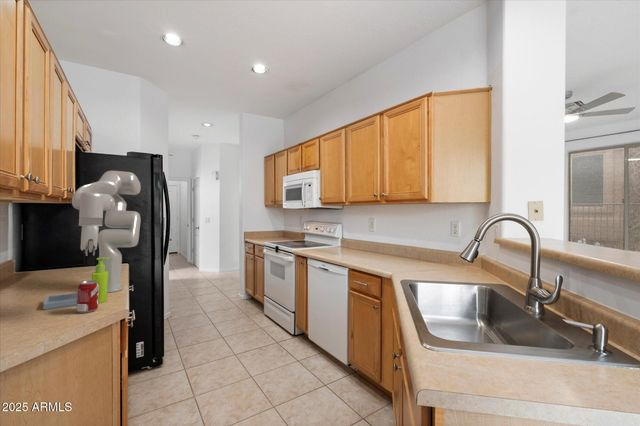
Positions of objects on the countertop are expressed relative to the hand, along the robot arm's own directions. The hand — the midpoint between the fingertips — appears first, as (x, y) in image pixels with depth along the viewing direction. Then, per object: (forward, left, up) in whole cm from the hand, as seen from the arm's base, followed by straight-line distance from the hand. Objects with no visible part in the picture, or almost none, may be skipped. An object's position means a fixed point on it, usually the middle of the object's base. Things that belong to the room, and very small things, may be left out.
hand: (88, 263), depth 115 cm
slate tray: (-17, -7, -20) cm, 27 cm away
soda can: (0, 0, -20) cm, 20 cm away
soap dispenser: (-12, +5, -20) cm, 24 cm away
